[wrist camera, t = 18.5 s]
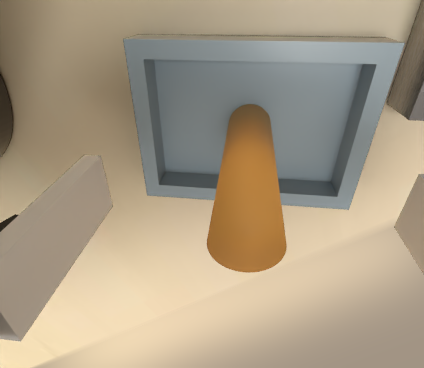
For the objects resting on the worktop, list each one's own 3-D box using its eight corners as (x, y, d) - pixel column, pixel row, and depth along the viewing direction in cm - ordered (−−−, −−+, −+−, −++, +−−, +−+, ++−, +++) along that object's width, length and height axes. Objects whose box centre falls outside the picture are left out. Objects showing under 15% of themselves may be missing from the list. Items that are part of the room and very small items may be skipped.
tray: (156, 177, 23) (147, 195, 21) (138, 34, 17) (123, 38, 15) (339, 189, 22) (348, 209, 20) (384, 37, 16) (404, 42, 14)
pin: (228, 142, 20) (207, 268, 11) (229, 103, 18) (205, 214, 9) (268, 144, 20) (281, 275, 11) (272, 104, 18) (291, 220, 9)
